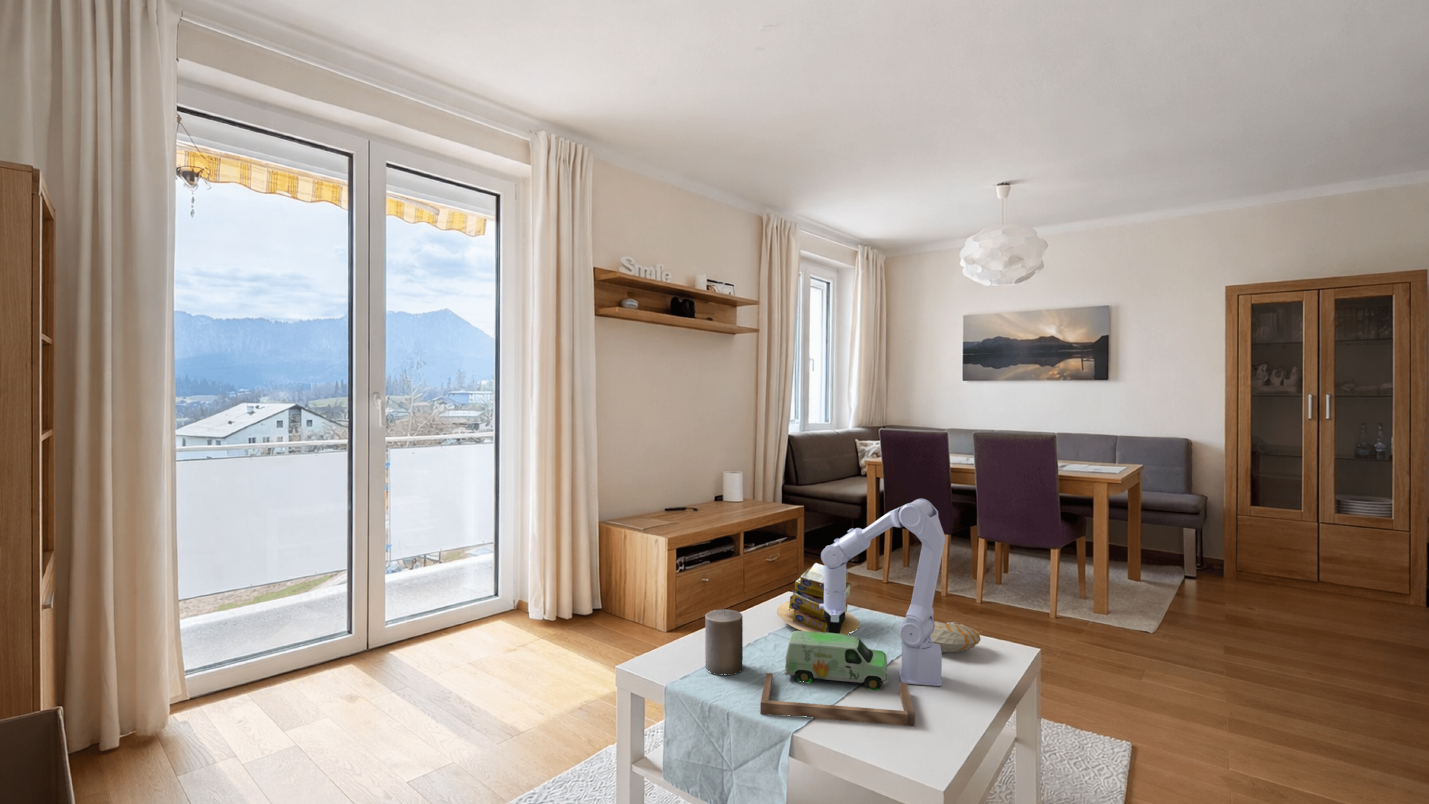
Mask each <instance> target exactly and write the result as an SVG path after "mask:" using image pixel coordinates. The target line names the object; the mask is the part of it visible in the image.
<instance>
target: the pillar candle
mask: <svg viewBox="0 0 1429 804" xmlns="http://www.w3.org/2000/svg"><path fill="white" fill-rule="evenodd" d="M704 616H705V617H704V619H705V620H704V622H705V623H704V625H705V628H704V629H705V631H704V632H705V634H704V635H705V636H704V637H705V643H704V644H705V645H704V646H705V648H704V649H705V650H704V651H705V653H704V654H705V658H704V659H705V670H706V669H707V670H708V671H710V672H711V673H715V674H723V675H722V676H725V675H724V674H727V675H726V676H731V675H730V674H734V675H736V674H735V673H737V674H739V672H740V671H741V672H742V671H743V669H744V665H743V659H744V656H743V649H744V648H743V647H744V646H743V645H744V644H743V639H744V637H743V636H744V635H743V633H744V631H743V629H744V627H743V625H744V624H743V621H744V620H743V614H742V613H741V612H740V611H737V610H734V609H733V610H732V609H715V610H714V609H713V610H710V611H709V612H707V613H705V615H704ZM707 670H706V671H707ZM708 671H707V672H708ZM741 672H740V673H741ZM711 673H710V674H711ZM728 674H729V675H728Z"/></svg>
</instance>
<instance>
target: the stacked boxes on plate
mask: <svg viewBox="0 0 1429 804" xmlns="http://www.w3.org/2000/svg"><path fill="white" fill-rule="evenodd" d="M799 575H800V574H799ZM848 578H849V571H848V568H846V599H847V598H848V597H850V596H849V595H850V593H851V591H852V583H851V582H848ZM793 585H794V590H792V595H790V596H789V600H788V601H785V602H782V603H781V604H780V605H778V606H777V609H776V610H777V611H776V612H777V615H778V616H779V618H780V619H781V621H783V622H784V623H786V624H787V625H789V626H790V627H792V628H794V629H797V630H798V631H810V632H825V633H829V632H828V626H827V623H826V621H825V619H824V611H825V610H824V609H821V608H819V604H824V564H821V563H817V562H815V563H814V564H813V565H811V567H809V568H807V569H806V570H805V572H803V574H801V575H800V577H799V578H798V579H797V580H795V582H794V584H793ZM848 607H849V606H848V604H847V603H846V610H845V611H844V612H845V620H844V622H843V624H842V626H841V630H840V634H844V635H848V634H850V633H849V632H852V631H855V630H856V629H858V628H859V629H860V623H859V620H858V619H857V618H856V617H855V616H854V615H853V614H852V613H850V612H848V611H847V610H848ZM859 629H858V630H859ZM855 632H856V631H855ZM850 635H851V634H850Z"/></svg>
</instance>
